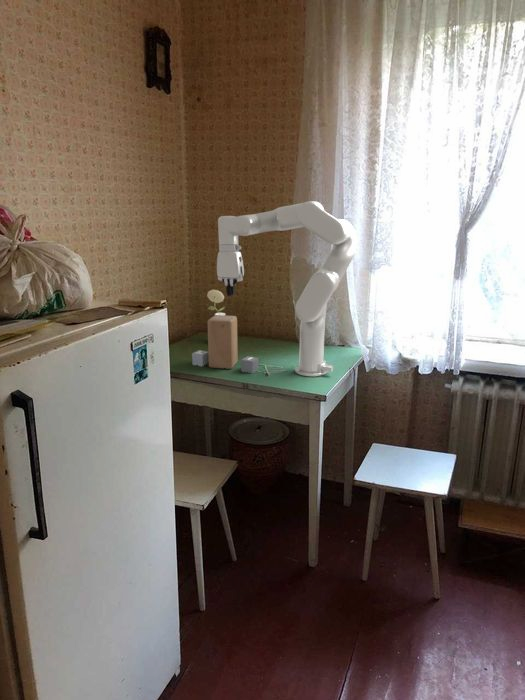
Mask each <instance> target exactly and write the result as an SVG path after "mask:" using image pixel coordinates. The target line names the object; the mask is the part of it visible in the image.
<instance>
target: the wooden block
mask: <svg viewBox="0 0 525 700" xmlns="http://www.w3.org/2000/svg"><path fill="white" fill-rule="evenodd" d="M207 345H208V347H207V348H208V349H207V350H208V351H207V352H208V356H209V364H208V367H209V368H215V369H224V368H225V369H226V370H229V369H230V370H232V369H233V368H234V367H235V365H236V364H237V363H238V362H239V361H238V353H239V352H238V318H237V316H236V315H226V314H225V315H215V314H214V315H213V316H212V317H210V318H209V319H208V320H207Z"/></svg>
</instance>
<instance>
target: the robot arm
mask: <svg viewBox="0 0 525 700" xmlns="http://www.w3.org/2000/svg"><path fill="white" fill-rule="evenodd" d="M218 217H219V218H218V219H217V226H218V229H217V230H218V247H219V248H218V250H219V252H218V253H217V258H216V259H217V260H216V276H217V280H218V281H220V282H223V284H224V286H225V287H226V288H225V289H226V295H227V297H232V296H235V293H236V285H237V284H238V282H242V281H243V280H244V278H243V277H244V276H245V275H244V274H245V267H244V259H243V257H242V256H243V255H242V252H241V251H240V250H242V246H241V245H239V236H242V237H247V236H251V235H256V234H261V233H262V234H263V233H267V232H273V231H279V232H280V231H281V232H282V231H289V230H294V229H300V228H305V229H306V230H308V231H310V233H312V234H314V235H316V237H318V238H319V239H321V240H323V241H324V242H325V243H327V244H330V245H333V246H332V249H331V250H330V251H329V253H328V254H327V257H326V259H325V260H324V263H323V264H322V266H321V267H320V269H318V271H316V272H314V274H313V275H312V276H311V277H310V278H309V280H308V282H307V283H306V286H305V287H304V289H303V291H302V292H301V295H300V296H299V298H298V299H297V302H296V304H295V307H294V308H295V309H294V311H295V314H296V317H297V318H298V319H299V321H300V324H299V353H298V356H299V357H298V365H297V366H295V368H294V372H295V373H296V374H298V375H300V376H303V377H321V376H325V375H326V374H327V373H328V372H333V370H334V367H333V364H327V360H325V359H324V357H325V354H324V353H325V331H326V330H325V329H326V319H327V318H326V316H327V308H328V306H327V305H328V302H329V300H330V299H331V297H332V295H333V293H334V292H335V291H336V290H337V289H338V287H339V285H340V283H341V281H342V278H343V277H344V275H345V274H346V272H347V270H348V268H349V267H350V265H351V263H352V261H353V259H354V257H355V255H356V252H357V247H358V237H357V233H356V230H355V228H354V227H353V225H352V224H351V223H350V222H349V221H348V220H346V219H343V218H336V217H334V216H333V215H332V214H330V213H328V212H327V211H326V210H325V209H324V206H323V205H322V204H321V203H320V202H319V201H315V200H309V201H305V202H301V203H296V204H291V205H285V206H280V207H277V208H275V209H272V210H270V211H268V210H267V211H264V212H260V213H253V214H243V215H238V216H234V215H223V216H222V215H221V216H218Z"/></svg>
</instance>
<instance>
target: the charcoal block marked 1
mask: <svg viewBox="0 0 525 700" xmlns="http://www.w3.org/2000/svg"><path fill="white" fill-rule="evenodd" d="M240 361H241V363H240V364H241V366H240V367H241V368H240V369H241V371H242V373H247V372H248V374H254V373H255V372H257V371H259V370H260V369H259V365H260V364H259V357H254V356H249V355H248V356H246V357H244V358H242V359H241V360H240Z"/></svg>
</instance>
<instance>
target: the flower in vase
mask: <svg viewBox="0 0 525 700" xmlns="http://www.w3.org/2000/svg"><path fill="white" fill-rule="evenodd" d="M206 297H207V298H208V299H209V301H210V302H212V303H214V306H213V305H210V306H209V307H207V310H210V311H215V310H216V313H214V315H226V313H225V312H221V311H223V310H225V308H226V306H223V307H221V308H220V309H217V308H216V304H220V303H221V302H223V303H224V299H225V296H224V294H223V293H222V291H219V290H218V289H211V290H209V291H207V295H206Z"/></svg>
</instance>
